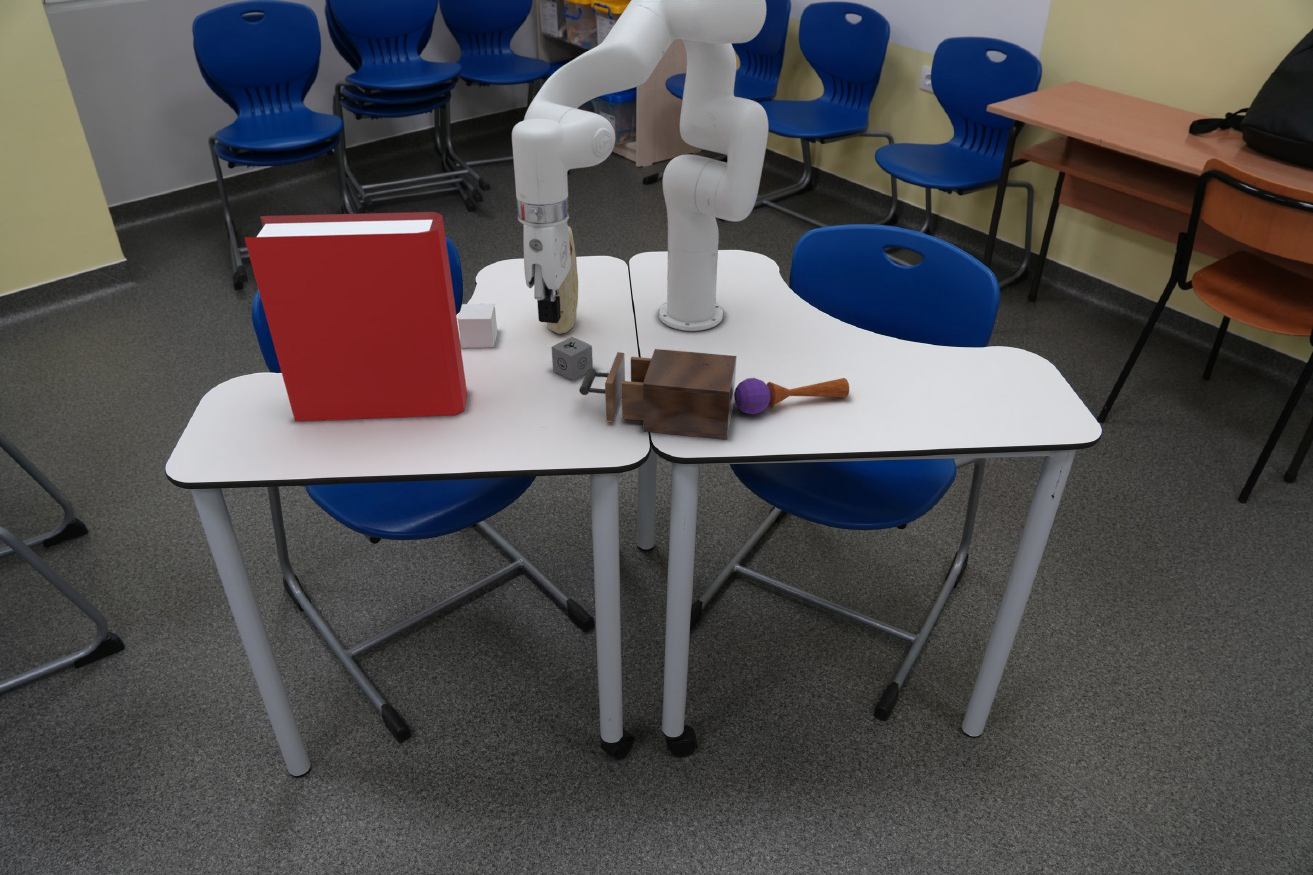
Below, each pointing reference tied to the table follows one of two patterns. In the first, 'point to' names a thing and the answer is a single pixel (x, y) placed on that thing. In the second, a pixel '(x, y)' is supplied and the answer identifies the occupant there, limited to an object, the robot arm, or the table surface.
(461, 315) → the white cube
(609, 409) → the drawer
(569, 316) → the food model
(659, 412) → the cabinet
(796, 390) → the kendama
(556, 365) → the dice cube
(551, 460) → the table surface
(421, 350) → the book
